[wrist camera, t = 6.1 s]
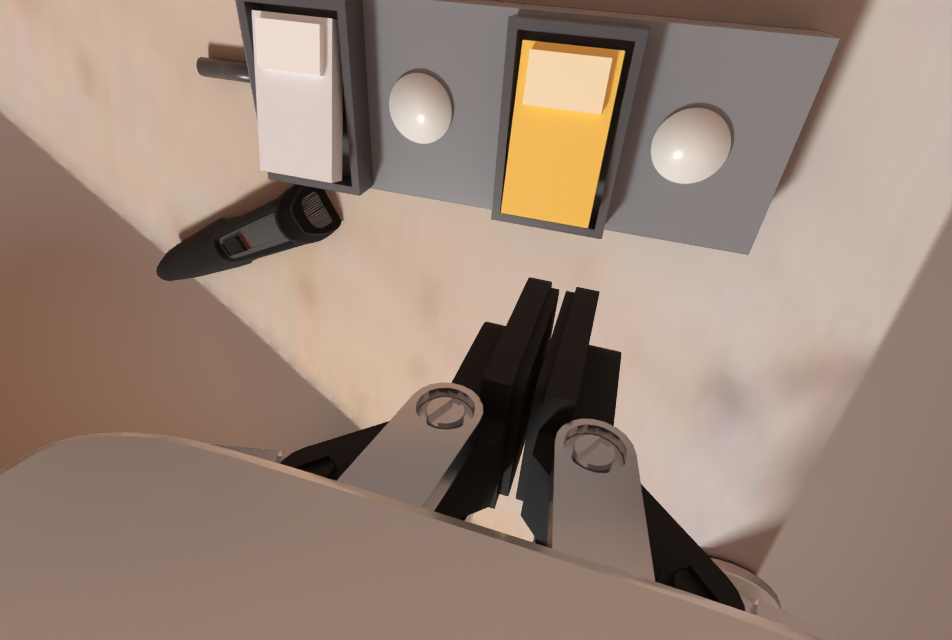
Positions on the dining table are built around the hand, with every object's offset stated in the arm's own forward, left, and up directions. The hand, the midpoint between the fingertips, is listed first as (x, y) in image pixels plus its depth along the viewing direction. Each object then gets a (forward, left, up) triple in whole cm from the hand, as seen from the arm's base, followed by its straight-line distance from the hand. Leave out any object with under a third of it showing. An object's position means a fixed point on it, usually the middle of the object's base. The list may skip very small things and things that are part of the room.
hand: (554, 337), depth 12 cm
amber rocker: (+1, +2, -13) cm, 13 cm away
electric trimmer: (-10, +23, -18) cm, 31 cm away
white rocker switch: (+1, +15, -13) cm, 19 cm away
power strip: (+1, +8, -17) cm, 19 cm away
